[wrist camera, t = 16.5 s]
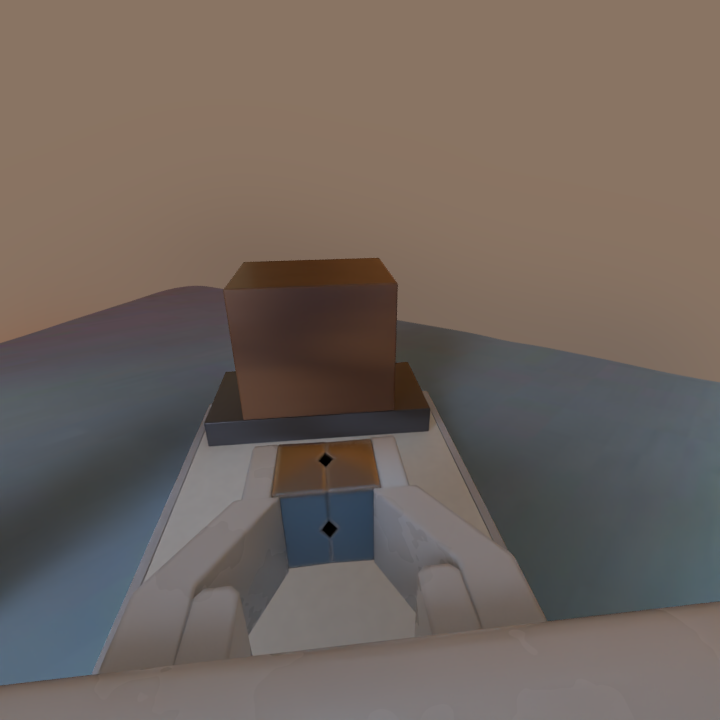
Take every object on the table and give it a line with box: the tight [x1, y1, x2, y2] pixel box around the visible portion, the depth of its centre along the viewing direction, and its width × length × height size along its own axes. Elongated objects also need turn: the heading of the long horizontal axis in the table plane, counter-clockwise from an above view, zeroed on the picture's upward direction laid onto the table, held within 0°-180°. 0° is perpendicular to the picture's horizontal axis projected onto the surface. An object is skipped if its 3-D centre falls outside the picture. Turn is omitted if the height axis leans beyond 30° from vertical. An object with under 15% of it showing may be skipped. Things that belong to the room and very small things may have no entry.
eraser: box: [204, 258, 430, 446], centre depth 23 cm, size 12×6×8 cm, turn 96°
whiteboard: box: [91, 391, 509, 675], centre depth 17 cm, size 14×21×1 cm, turn 6°
